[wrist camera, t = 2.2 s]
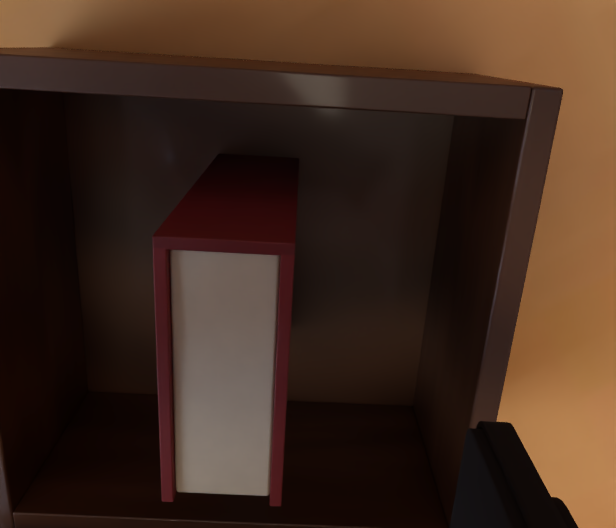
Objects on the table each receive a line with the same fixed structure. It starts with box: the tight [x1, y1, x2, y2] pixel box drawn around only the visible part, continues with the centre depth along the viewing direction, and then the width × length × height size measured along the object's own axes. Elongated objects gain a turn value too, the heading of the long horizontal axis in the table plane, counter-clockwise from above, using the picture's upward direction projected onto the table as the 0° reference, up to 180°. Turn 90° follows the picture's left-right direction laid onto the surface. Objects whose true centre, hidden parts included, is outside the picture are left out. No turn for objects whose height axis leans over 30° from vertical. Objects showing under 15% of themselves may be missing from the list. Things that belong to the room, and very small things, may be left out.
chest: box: [0, 47, 563, 528], centre depth 20 cm, size 15×16×8 cm
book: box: [152, 154, 299, 506], centre depth 18 cm, size 7×3×10 cm, turn 177°
